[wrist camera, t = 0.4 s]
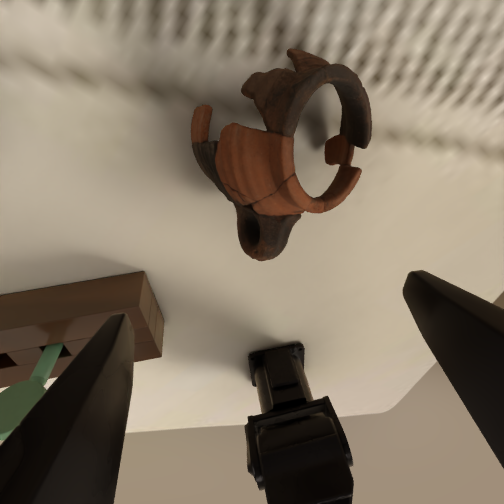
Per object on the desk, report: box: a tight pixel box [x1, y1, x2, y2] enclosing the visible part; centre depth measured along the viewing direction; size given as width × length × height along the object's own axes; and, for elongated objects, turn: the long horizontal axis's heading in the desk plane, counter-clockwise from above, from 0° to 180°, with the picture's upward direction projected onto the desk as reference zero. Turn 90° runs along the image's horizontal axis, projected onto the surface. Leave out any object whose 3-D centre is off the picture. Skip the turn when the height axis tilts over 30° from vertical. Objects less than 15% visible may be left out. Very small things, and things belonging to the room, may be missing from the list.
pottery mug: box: [191, 48, 372, 261], centre depth 19 cm, size 12×10×8 cm
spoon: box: [0, 342, 64, 440], centre depth 23 cm, size 1×4×10 cm, turn 95°
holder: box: [0, 271, 164, 388], centre depth 26 cm, size 6×15×4 cm, turn 95°
